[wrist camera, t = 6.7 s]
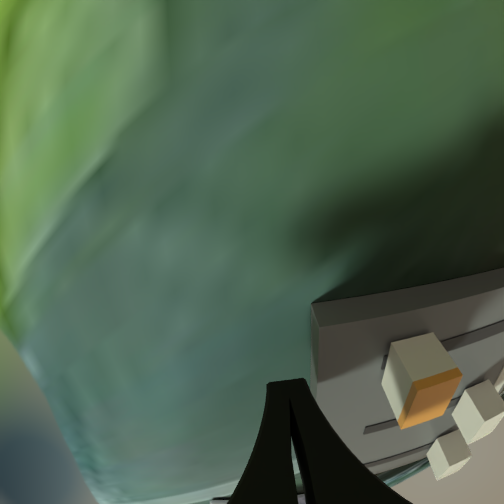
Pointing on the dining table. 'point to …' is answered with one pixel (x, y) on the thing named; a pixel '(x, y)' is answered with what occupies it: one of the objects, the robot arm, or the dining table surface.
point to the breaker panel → (375, 358)
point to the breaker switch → (419, 379)
